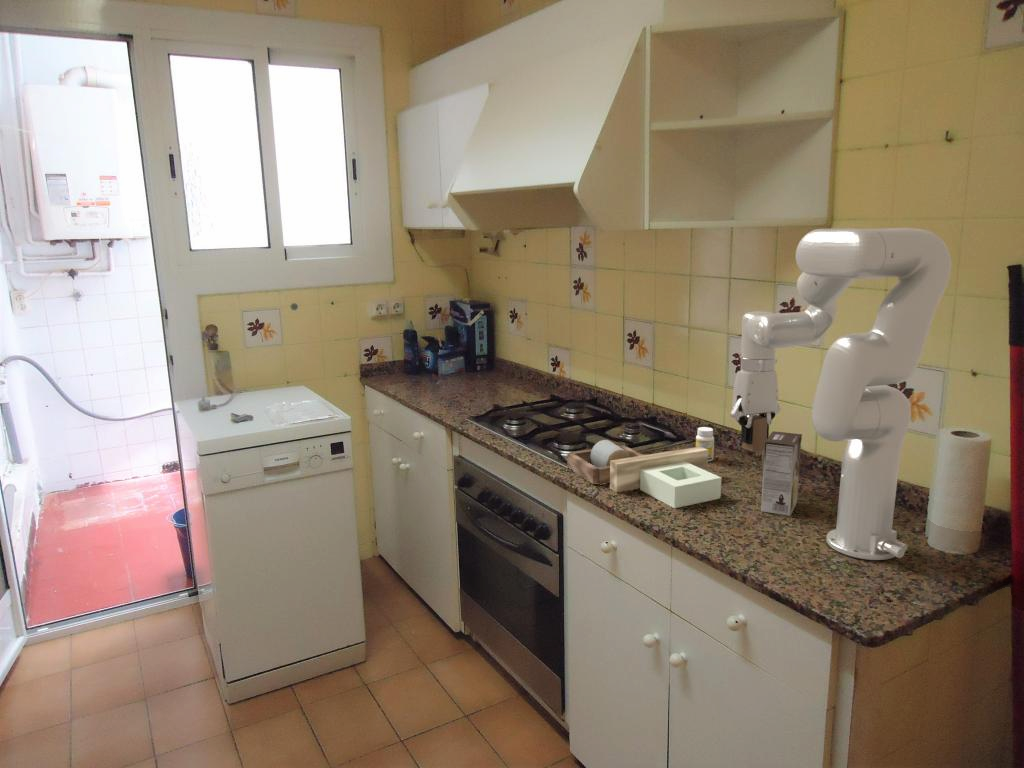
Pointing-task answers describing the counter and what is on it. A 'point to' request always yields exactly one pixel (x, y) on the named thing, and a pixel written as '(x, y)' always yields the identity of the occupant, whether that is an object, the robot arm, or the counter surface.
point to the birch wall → (628, 469)
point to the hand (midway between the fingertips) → (754, 440)
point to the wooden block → (757, 434)
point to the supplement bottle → (706, 440)
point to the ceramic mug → (606, 453)
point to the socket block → (680, 484)
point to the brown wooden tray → (587, 470)
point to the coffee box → (781, 473)
